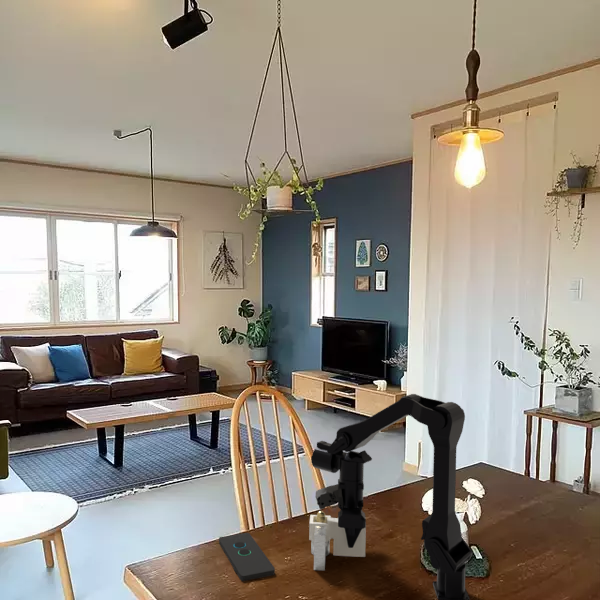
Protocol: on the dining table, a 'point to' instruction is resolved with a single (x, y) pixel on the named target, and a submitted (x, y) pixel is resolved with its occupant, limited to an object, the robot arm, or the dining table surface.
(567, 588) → the dining table surface
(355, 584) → the dining table surface
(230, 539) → the smart home device
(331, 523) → the square loop paddle
